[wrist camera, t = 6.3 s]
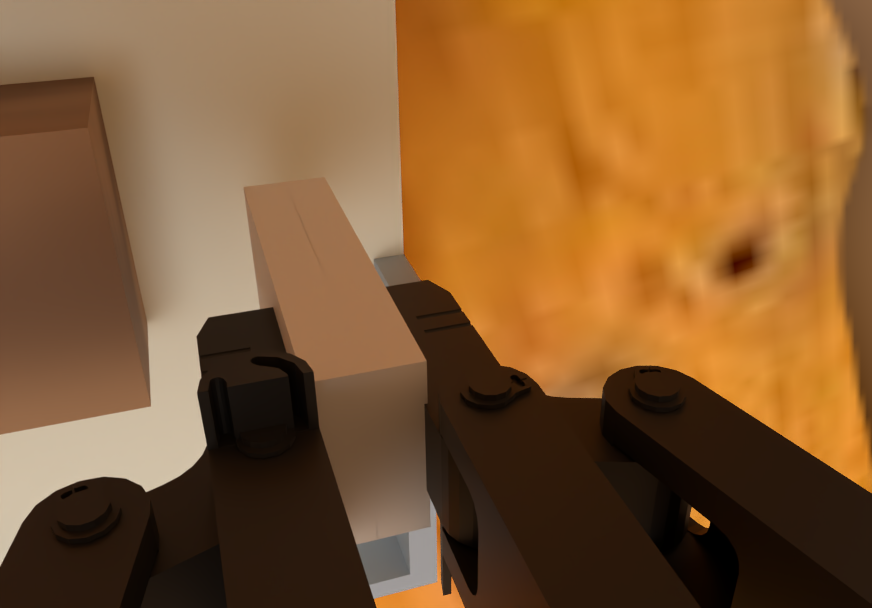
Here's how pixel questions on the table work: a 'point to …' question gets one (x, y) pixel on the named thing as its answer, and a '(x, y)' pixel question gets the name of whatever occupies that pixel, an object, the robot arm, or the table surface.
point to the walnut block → (64, 264)
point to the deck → (213, 198)
